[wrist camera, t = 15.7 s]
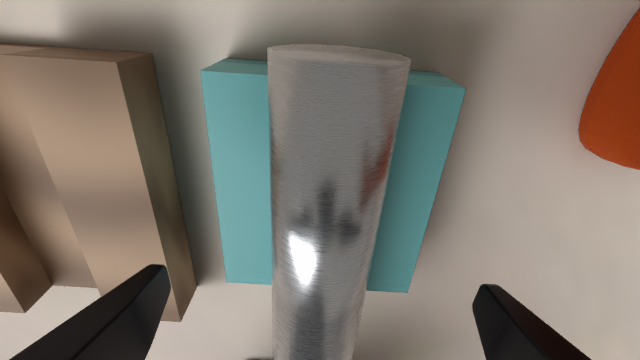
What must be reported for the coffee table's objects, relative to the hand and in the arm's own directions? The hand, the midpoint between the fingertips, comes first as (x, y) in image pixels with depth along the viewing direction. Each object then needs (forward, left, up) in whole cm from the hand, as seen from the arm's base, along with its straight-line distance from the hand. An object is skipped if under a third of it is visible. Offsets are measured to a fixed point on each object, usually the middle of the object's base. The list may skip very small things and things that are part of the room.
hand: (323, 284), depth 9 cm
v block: (0, 0, -8) cm, 8 cm away
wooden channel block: (-2, +14, -7) cm, 16 cm away
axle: (-1, 0, -3) cm, 3 cm away
